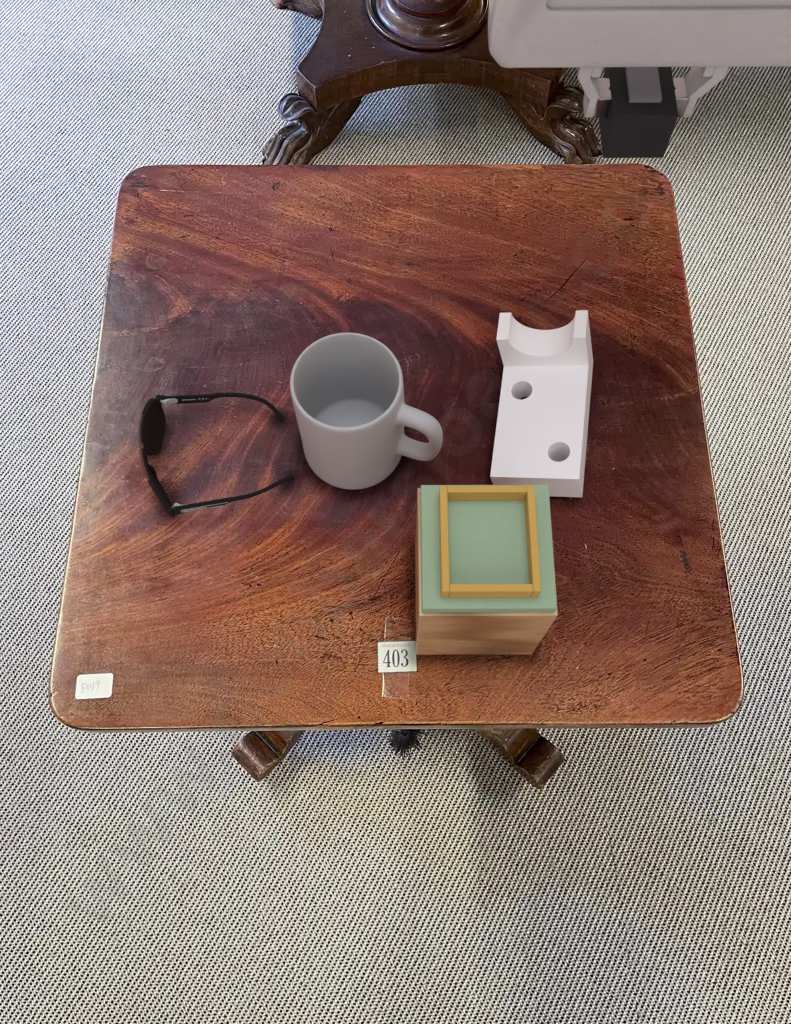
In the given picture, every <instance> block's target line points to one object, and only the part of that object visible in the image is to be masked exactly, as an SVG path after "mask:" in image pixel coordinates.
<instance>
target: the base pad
mask: <svg viewBox="0 0 791 1024" xmlns="http://www.w3.org/2000/svg"><path fill="white" fill-rule="evenodd" d="M420 488H421V570H422V612H555V611H556V609H558V597H557V598H556V595H557V585H556V584H555V581H556V570H554V567H555V555H554V556H553V553H554V541H553V542H552V539H553V527H552V528H551V525H552V513H551V514H550V511H551V499H550V500H549V497H550V496H549V486H548V485H493V484H421V485H420Z"/></svg>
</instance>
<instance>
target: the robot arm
mask: <svg viewBox="0 0 791 1024" xmlns="http://www.w3.org/2000/svg"><path fill="white" fill-rule="evenodd" d="M488 3H489V4H488V14H487V42H488V43H487V44H488V52H489V53H490V56H491V57H492V58H493V60H494V61H495V62H496V63H497V65H499V66H500V67H501V68H504V69H534V68H535V69H539V68H541V69H542V68H543V69H545V68H547V69H550V68H551V69H552V68H555V69H556V68H558V69H559V68H567V69H568V68H569V69H570V68H576V74H577V75H576V76H577V80H578V82H579V83H580V86H581V88H582V90H583V92H584V93H583V98H582V108H583V117H584V119H599V118H606V117H607V115H608V109H609V108H610V104H611V101H612V94H611V90H610V87H611V85H610V78H603V77H601V76H602V73H603V70H604V69H603V68H606V67H671V68H691V69H690V70H689V71H688V72H687V73H686V74H685V75H684V77H683V76H682V77H681V76H680V77H673V82H674V89H675V96H676V102H677V109H678V118H690V117H691V116H692V114H693V111H694V109H695V106H696V104H697V102H698V99H700V98H702V97H703V96H704V95H706V94H707V93H708V92H709V91H711V89H713V88H714V87H715V86H716V85H717V84H719V83H720V82H722V80H723V79H725V78H726V75H727V73H728V71H729V69H730V68H731V67H733V68H734V67H736V68H737V67H738V68H739V67H740V68H741V67H746V68H747V67H791V0H489V2H488Z"/></svg>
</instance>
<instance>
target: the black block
mask: <svg viewBox="0 0 791 1024" xmlns="http://www.w3.org/2000/svg"><path fill="white" fill-rule="evenodd" d="M602 78H610V85H611V87H610V90H611V94H612V101H611V104H610V108H609V109H608V115H607V117H606V118H598V124H599V132H600V133H599V134H600V142H601V152H602V158H603V159H663V158H664V157H665V154H666V152H667V148H668V146H669V144H670V141H671V138H672V135H673V133H674V130H675V127H676V124H677V121H678V119H679V117H678V109H677V102H676V96H675V89H674V82H673V78H674V75H673V69H672V67H604V73H603V76H602Z"/></svg>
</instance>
